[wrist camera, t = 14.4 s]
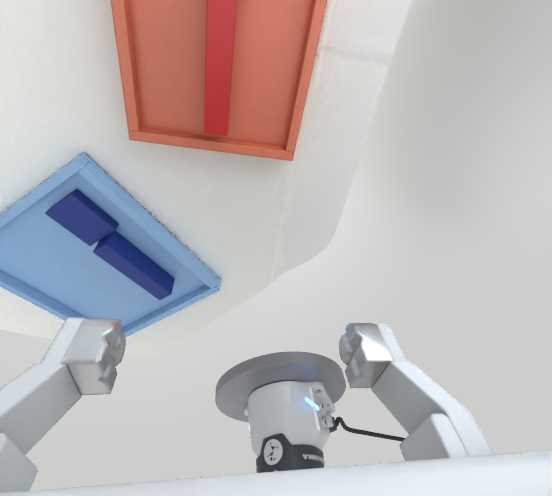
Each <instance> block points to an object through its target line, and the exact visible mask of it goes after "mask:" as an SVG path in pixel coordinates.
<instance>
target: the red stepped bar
mask: <svg viewBox="0 0 552 496" xmlns="http://www.w3.org/2000/svg"><path fill="white" fill-rule="evenodd" d="M236 11H237V0H207V17H206V58H205V99H204V133H208V134H215V135H222V136H227V133H228V120H229V106H230V92H231V79H232V65H233V52H234V38H235V25H236Z"/></svg>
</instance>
